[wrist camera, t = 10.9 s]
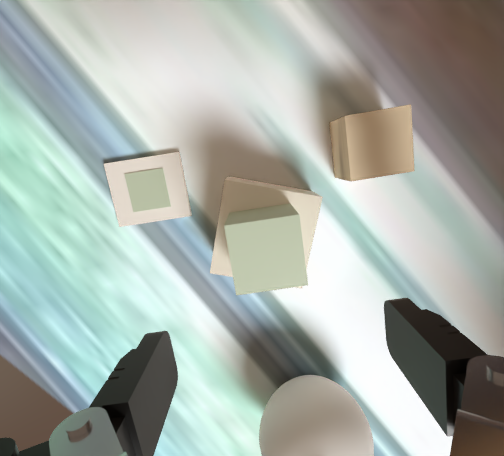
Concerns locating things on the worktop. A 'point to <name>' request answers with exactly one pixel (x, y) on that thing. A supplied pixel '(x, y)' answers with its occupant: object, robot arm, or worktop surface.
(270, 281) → the sage cube
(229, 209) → the base block
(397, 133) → the birch cube
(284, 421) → the ornament
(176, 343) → the worktop surface
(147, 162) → the card
